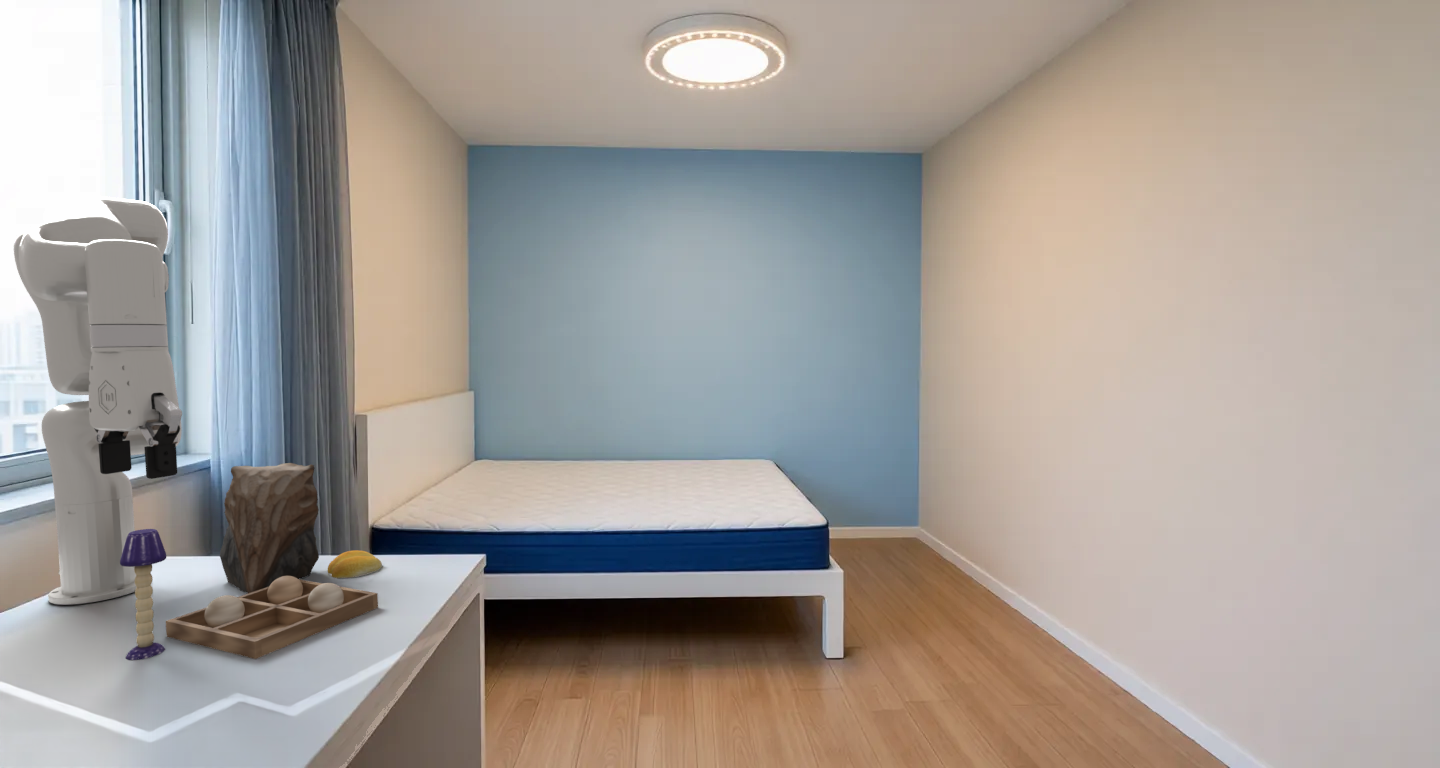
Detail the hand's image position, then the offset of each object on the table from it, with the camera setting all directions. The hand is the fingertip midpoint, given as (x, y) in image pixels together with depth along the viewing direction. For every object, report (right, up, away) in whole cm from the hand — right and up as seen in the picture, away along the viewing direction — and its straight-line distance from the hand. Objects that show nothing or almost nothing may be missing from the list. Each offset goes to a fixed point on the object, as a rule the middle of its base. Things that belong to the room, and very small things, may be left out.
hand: (138, 474), depth 90 cm
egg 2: (+8, -22, +17) cm, 29 cm away
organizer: (+11, -23, +11) cm, 28 cm away
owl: (-2, -23, +29) cm, 37 cm away
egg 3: (+17, -22, +13) cm, 31 cm away
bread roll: (+10, -22, +34) cm, 42 cm away
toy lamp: (0, -24, +2) cm, 24 cm away
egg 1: (+5, -23, +9) cm, 25 cm away
